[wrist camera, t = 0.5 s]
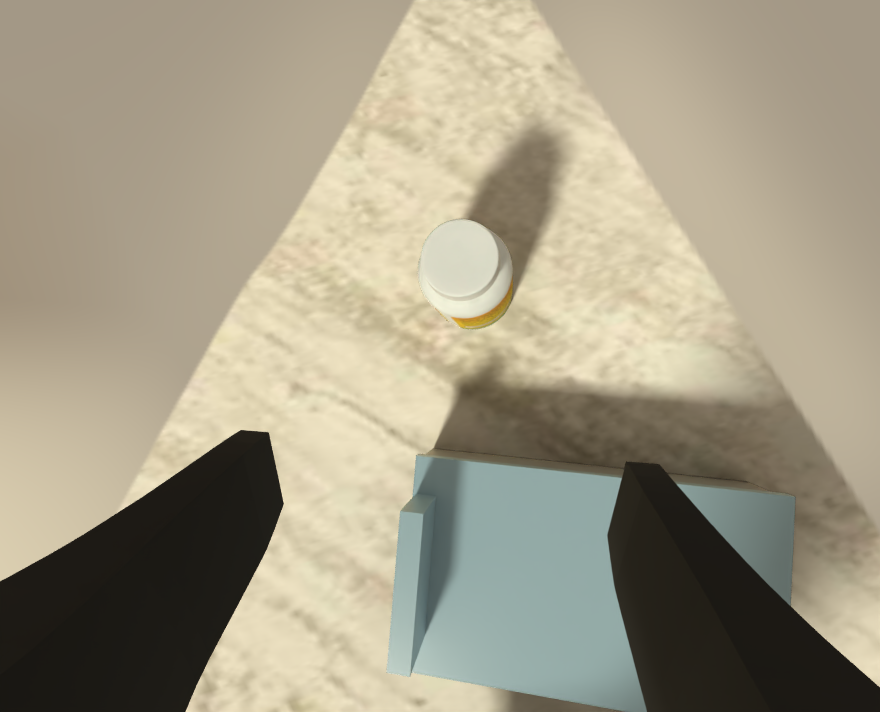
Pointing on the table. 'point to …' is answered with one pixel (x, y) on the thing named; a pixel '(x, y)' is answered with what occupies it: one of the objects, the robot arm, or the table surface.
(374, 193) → the table surface
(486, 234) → the supplement bottle
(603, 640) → the lid
